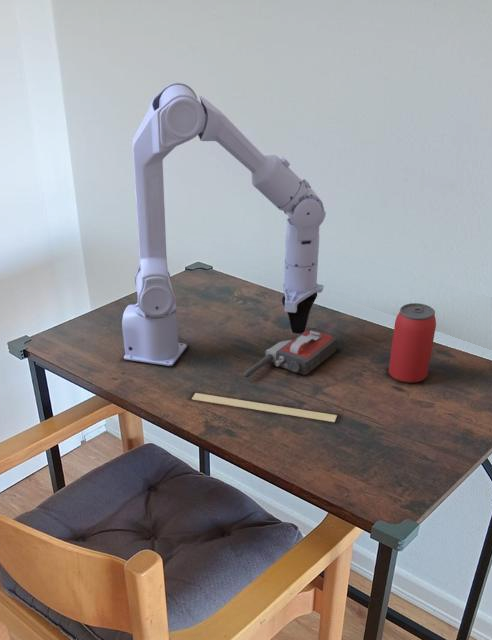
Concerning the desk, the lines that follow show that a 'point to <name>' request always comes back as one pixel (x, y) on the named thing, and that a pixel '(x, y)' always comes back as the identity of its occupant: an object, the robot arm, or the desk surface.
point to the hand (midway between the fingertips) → (298, 332)
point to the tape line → (265, 407)
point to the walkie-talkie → (300, 352)
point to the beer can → (412, 343)
